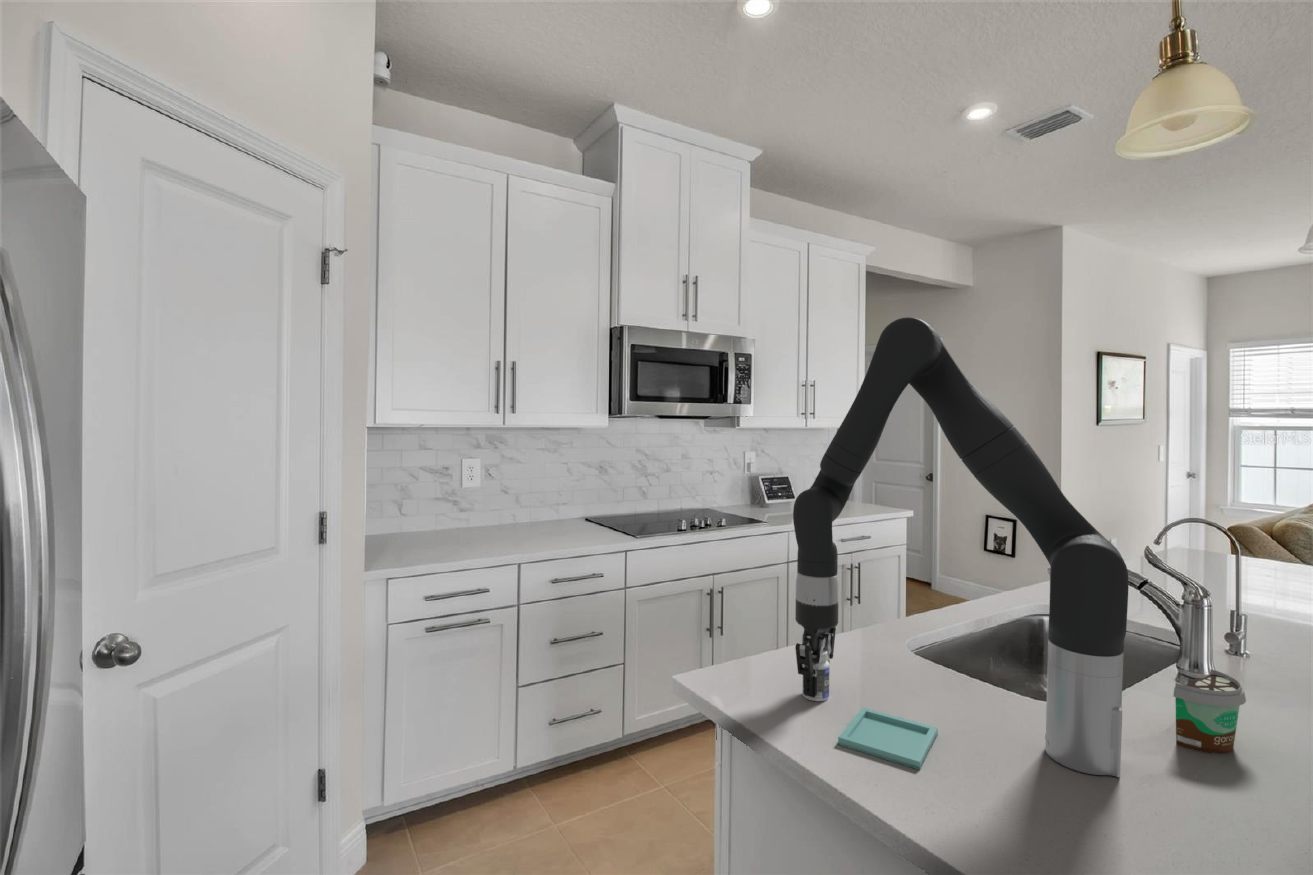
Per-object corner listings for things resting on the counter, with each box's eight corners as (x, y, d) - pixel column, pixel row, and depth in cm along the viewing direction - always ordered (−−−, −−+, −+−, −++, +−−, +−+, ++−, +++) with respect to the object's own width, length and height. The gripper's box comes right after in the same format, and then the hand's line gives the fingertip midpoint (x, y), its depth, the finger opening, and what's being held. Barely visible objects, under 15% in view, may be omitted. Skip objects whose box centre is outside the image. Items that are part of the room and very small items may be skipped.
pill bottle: (830, 703, 112) (830, 656, 112) (802, 700, 113) (803, 654, 113) (828, 691, 117) (828, 646, 116) (802, 689, 118) (802, 644, 117)
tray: (937, 735, 101) (937, 727, 101) (919, 770, 91) (920, 761, 91) (862, 714, 108) (862, 707, 108) (838, 744, 98) (838, 737, 98)
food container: (1221, 766, 92) (1224, 699, 92) (1171, 746, 98) (1173, 683, 97) (1258, 746, 98) (1261, 682, 97) (1209, 728, 103) (1212, 668, 103)
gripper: (822, 611, 106) (821, 711, 107) (850, 591, 118) (849, 681, 119) (781, 603, 110) (780, 699, 111) (811, 585, 122) (810, 671, 123)
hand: (815, 689), depth 115 cm, fingers closed on pill bottle, 4 cm apart
